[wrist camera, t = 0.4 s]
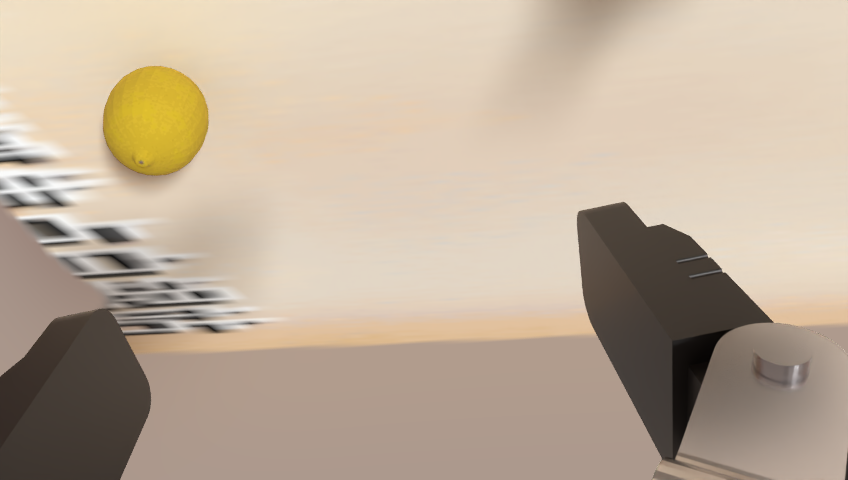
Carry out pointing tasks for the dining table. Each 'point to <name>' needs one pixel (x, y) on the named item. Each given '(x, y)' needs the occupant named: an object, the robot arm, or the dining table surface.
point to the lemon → (155, 120)
